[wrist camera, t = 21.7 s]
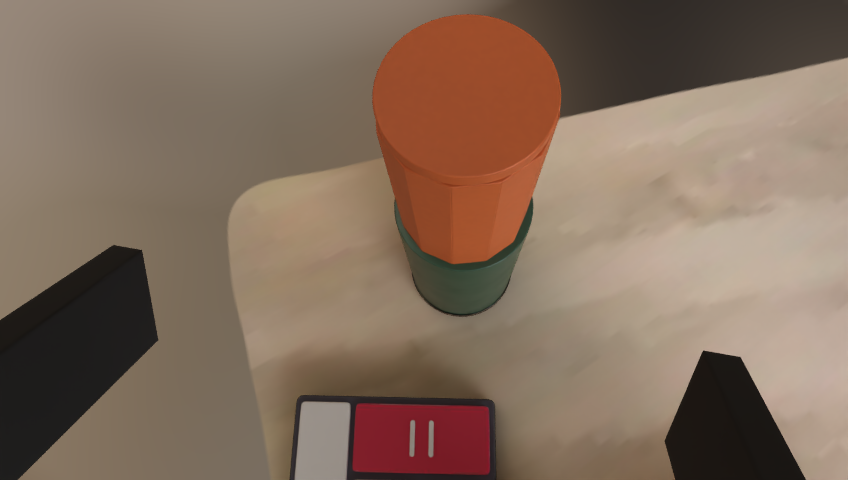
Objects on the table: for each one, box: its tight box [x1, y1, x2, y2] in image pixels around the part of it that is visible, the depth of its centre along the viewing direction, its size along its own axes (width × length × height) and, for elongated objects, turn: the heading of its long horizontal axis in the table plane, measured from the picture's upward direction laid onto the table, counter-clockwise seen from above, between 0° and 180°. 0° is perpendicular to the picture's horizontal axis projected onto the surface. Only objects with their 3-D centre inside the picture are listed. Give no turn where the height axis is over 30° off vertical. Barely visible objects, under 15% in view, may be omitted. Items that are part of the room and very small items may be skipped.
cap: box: [372, 14, 561, 264], centre depth 27 cm, size 7×7×12 cm
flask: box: [394, 198, 533, 317], centre depth 38 cm, size 9×9×18 cm
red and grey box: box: [290, 395, 496, 480], centre depth 40 cm, size 11×4×15 cm
